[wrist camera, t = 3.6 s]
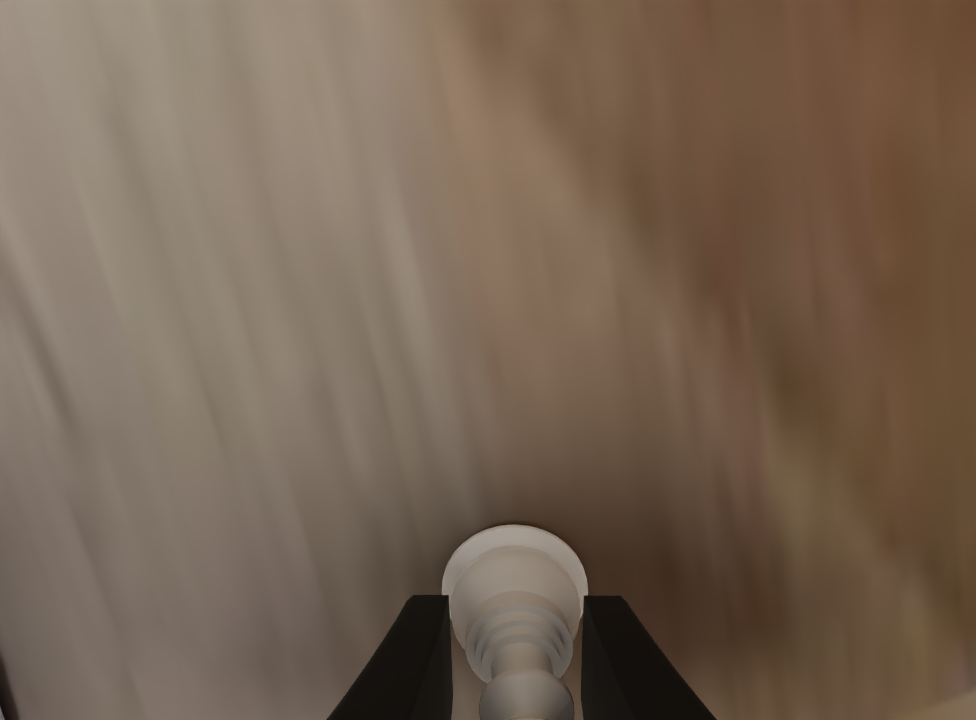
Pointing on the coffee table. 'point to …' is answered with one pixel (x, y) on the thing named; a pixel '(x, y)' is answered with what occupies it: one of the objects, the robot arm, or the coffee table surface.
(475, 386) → the coffee table surface
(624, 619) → the robot arm
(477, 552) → the chess pawn
